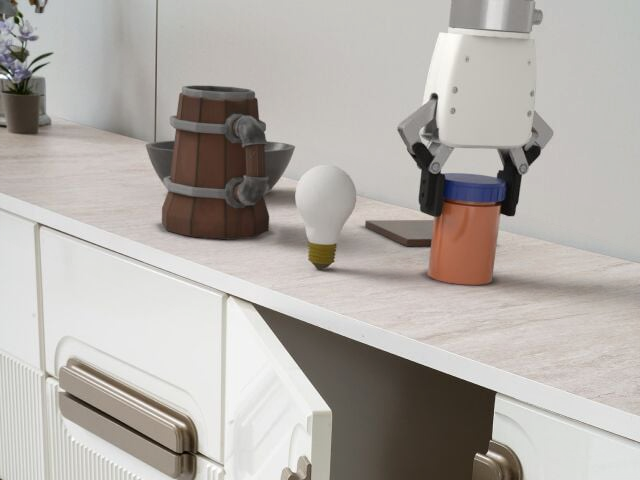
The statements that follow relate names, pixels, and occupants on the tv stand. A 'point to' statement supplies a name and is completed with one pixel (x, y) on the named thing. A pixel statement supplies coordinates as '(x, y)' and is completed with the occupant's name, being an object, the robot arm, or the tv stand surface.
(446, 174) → the lid
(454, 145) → the robot arm
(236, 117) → the mug
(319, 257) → the light bulb
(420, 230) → the plate
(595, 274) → the tv stand surface
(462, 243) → the jar
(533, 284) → the tv stand surface
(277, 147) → the bowl
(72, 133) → the tv stand surface
